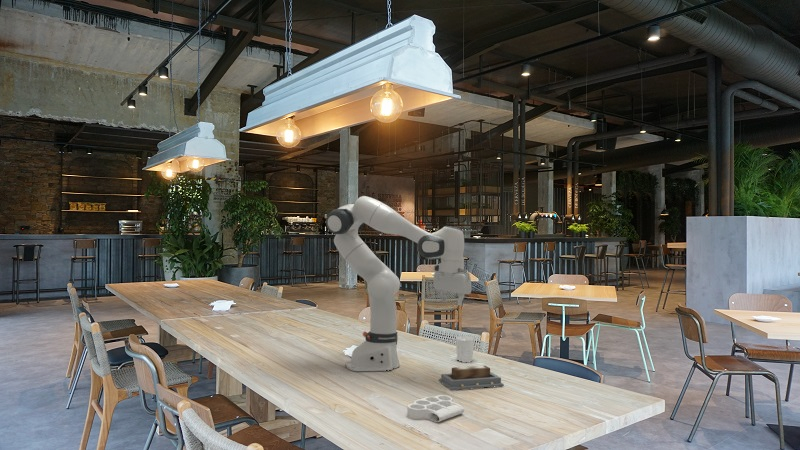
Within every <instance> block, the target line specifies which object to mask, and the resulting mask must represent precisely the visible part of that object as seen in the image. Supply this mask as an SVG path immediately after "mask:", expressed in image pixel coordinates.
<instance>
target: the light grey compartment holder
mask: <svg viewBox="0 0 800 450" xmlns="http://www.w3.org/2000/svg"><path fill="white" fill-rule="evenodd" d="M464 413H465V408H464V407H463V406H462V405H461V404H459V403H457V402H454V400H453V397H451V396H450V395H445V394H444V395H443V394H438V395H436V396H426V397H423V398H421V399H419V398H418V399H415V400H414V401H413V402H412V403H409V404H407V412H406V416H407V417H408V418H409V419H413V420H429V421H431V422H433V421H434V423H441V422H442V421H445V420H448V419H451V418H453V417H455V416H458V415H459V416H460V415H462V414H464ZM438 418H439V419H438ZM437 419H438V420H437ZM435 420H436V421H435Z"/></svg>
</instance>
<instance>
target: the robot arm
mask: <svg viewBox="0 0 800 450" xmlns="http://www.w3.org/2000/svg"><path fill="white" fill-rule="evenodd" d="M325 224H326V228H327V229H328V231H329V232H331V234H333V235H335V236H334V238H333V243H334V246H335V247H336V249H337V250H338V253H339V254H340V256H341V257H342V258H343V259H344V260H345V262H346V263H347V264H348V265H349V266H350V268H352V270H353V271H354V272H355V274H356V275H358V276H359V277H360V278H362V279H363V280H365V282H366V283H367V290H366V291H367V293H368V299H369V300H368V302H369V308H370V309H369V310H370V327H369V328H370V331H368V332H366V331H363V332H362V336H363V337H364V339H365V341H363V342H362V343H361V344H359V345H358V346H357V347H356V348H354V349H353V351H352V354H351V359H350V360H348V361H346V362H345V367H346V368H347V369H348V370H350V371H352V372H390V371H389V370H391V371H392V370H394V369H397V368H398V367H400V362H399V358H398V356H399V355H398V348H397V346H398V339H399V337H398V331H397V322H398V321H397V317H398V315H397V314H398V312H397V308H396V299H395V296H396V295H397V294H398V292H399V290H400V288H401V281H400V278H399V277H398V276H397V274H395V273H394V272H393V270H392V269H390V268H389V266H387V265H386V264H385V263H384V262H382V260H381V259H379V258H378V256H377V255H375V253H374V252H373V251H372V250H371V248H369V246H368V245H367V244H366V242H365V241H363V239H362V238H361V237H360V235H359V231H362V229H363V227H364V225H365V224H366V225H367V226H369V227H370V228H372V229H374V230H375V231H377V232H381V233H384V234H387V235H388V234H389V235H397V236H401V237H404V238H406V239H409V240H410V241H412V242H414V243H416V245H417V246H416V247H417V252H418V253H419V255H420V256H421V257H423V258H426V259H430V260H431V259H437V260H438V259H440V263H438V264H435V265H434V266H433V272H434V273H433V287H434V289H435V290H438V291H439V293H440V297H441V302H442V303H448V297H447V295H446V293H447V292H449V293H455V294H457V297H458V298H457V300H455V301H456V303H455V305H457V306H463V300H464V299H465V295H471V293H472V280H471V274H470V272H469V271H468V269H465V259H464V251H465V236H464V232H463V230H462V229H461V228H459V227H455V226H451V225H450V226H449V225H445V226H443V227H442V228H440V229H439V230H436V231H435V232H432V233H431V232H429V231H427V230H425V229H423V228H421V227H420V226H417V225H416V224H413V223H412V222H411V221H409V220H408V219H406V218H405V217H404V216H402V214H400V213H398V211H396V210H395V209H393V208H392V207H390V206H389V205H387V204H385V203H384V202H382V201H380V200H378V199H375V198H373V197H370V196H366V195H361V196H359V197H358V198H357V199H356V200H355V202H352V203H348V204H345V205H342V206H340V207H338V208H335V209H333V210H331V211H330V212H329V213H328V214H327V216H326V219H325ZM393 368H394V369H393ZM386 370H388V371H386Z"/></svg>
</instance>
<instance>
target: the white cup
mask: <svg viewBox="0 0 800 450" xmlns="http://www.w3.org/2000/svg"><path fill="white" fill-rule="evenodd" d="M455 341H456V342H455V343H456V344H455V346H456V348H455V349H456V361H457V360H459V361H465V362H464V363H466V362H467V363H470V362H469V361H473V355H474V344H475V339H474V337H473V336H472V337H470V336H457V337H455ZM459 361H458V362H459Z"/></svg>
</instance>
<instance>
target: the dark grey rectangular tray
mask: <svg viewBox="0 0 800 450" xmlns="http://www.w3.org/2000/svg"><path fill="white" fill-rule="evenodd" d="M451 375H452V373H442V374H440V376H441V378H438V382H439V381H440V382H441V383H440V382H439V383H440V384H442V383H443V384H444V385H445V386H444V385H443V384H442V385H443V386H444V387H446V386H447V387H448V388H450V389H451V390H456V391H460V390H459V389H469V390H472V389H471V388H482V389H485V388H484V387H494V386H504V387H505V384H504V382H502V378H501V376H498V375H496V374H495V373H493V372H491V371H490V377H487V378H473V379H459V380H453V379H452V378H451ZM447 387H446V388H447ZM448 388H447V389H448ZM494 388H495V387H494ZM450 389H449V390H450ZM451 390H450V391H451Z"/></svg>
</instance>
